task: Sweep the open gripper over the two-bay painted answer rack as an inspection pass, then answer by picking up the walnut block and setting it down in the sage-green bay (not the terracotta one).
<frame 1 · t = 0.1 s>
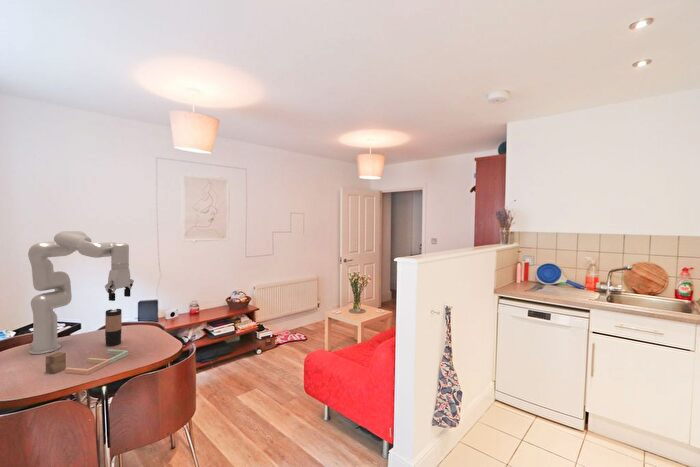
hand: (119, 298, 167), 31 cm above the table, fingers open, 9 cm apart
travel mug: (113, 344, 184), on the table
answer rack: (98, 363, 159), on the table
walnut block: (55, 370, 150), on the table
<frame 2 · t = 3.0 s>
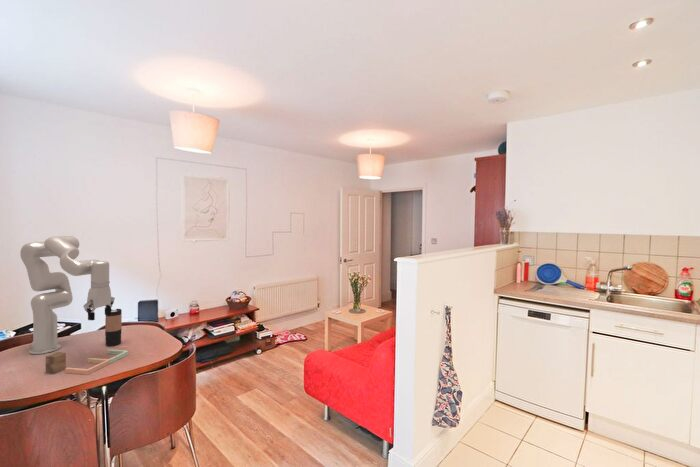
hand: (99, 317, 164), 22 cm above the table, fingers open, 9 cm apart
nothing on the table moved.
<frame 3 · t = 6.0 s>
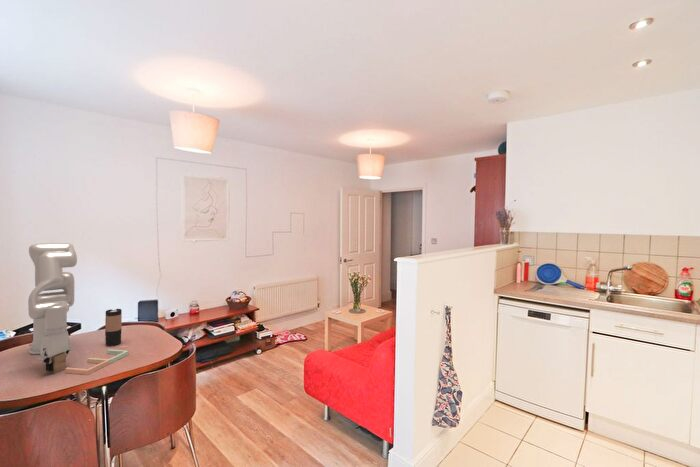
hand: (55, 367, 150), 1 cm above the table, fingers closed on walnut block, 5 cm apart
walnut block: (55, 370, 150), on the table, touching gripper
everything else where it was.
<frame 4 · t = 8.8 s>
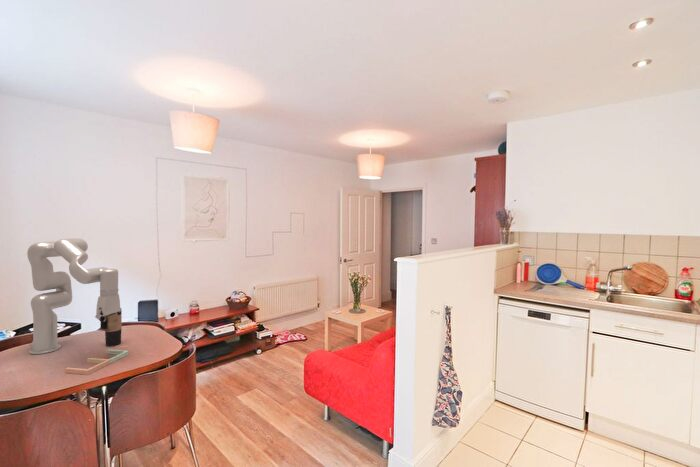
hand: (108, 326, 164), 17 cm above the table, fingers closed on walnut block, 5 cm apart
walnut block: (109, 329, 164), point 15 cm above the table, touching gripper
everything else where it was.
when the fingers open (3 cm above the table, at t = 11.6 s): walnut block drops 2 cm, on the table.
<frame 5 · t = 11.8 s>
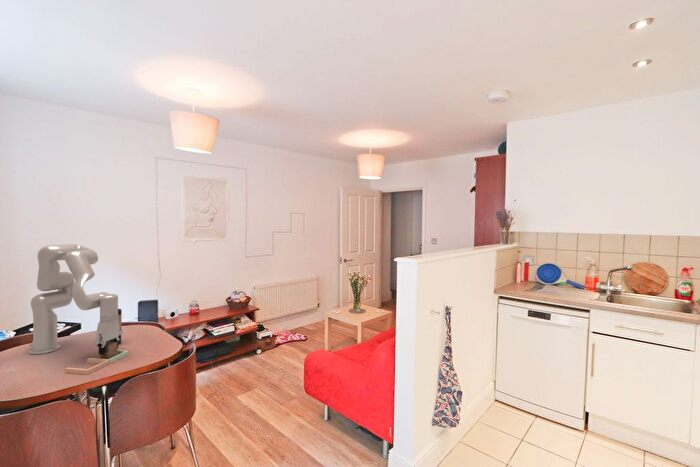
hand: (108, 351, 165), 4 cm above the table, fingers open, 7 cm apart
walnut block: (108, 358, 165), on the table
everything else where it was.
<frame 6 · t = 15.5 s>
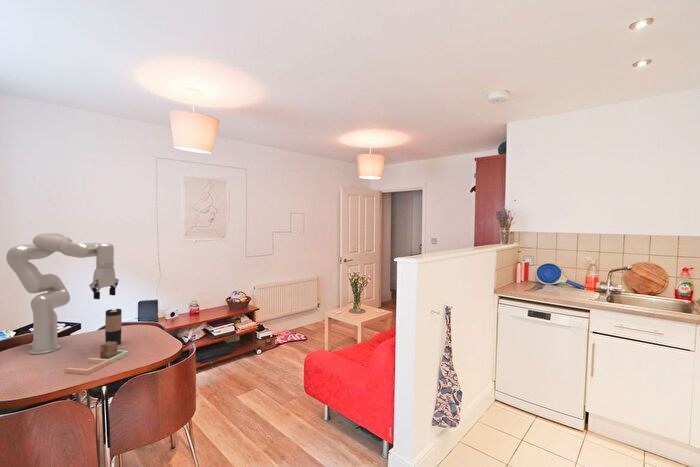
hand: (104, 297, 173), 30 cm above the table, fingers open, 9 cm apart
nothing on the table moved.
at the end: walnut block inside the target area (0.4 cm from its centre), on the table; walnut block tilted 0° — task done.
